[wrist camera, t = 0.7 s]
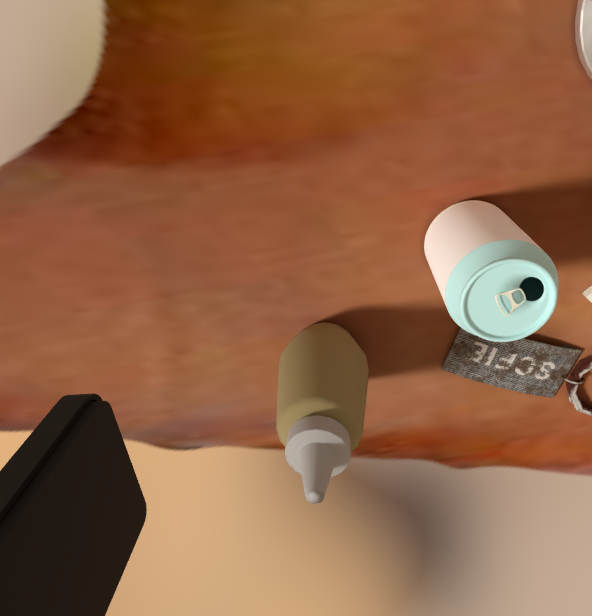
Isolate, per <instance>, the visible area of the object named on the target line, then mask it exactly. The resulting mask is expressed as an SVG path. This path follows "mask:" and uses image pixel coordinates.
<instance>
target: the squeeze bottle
mask: <svg viewBox="0 0 592 616" xmlns="http://www.w3.org/2000/svg"><path fill="white" fill-rule="evenodd" d="M368 375H369V368H368V363H367V358H366V355H365V354H364V352H363V351H362V350H361V348H360V347H359V345H358V344H357V343H356V341H355V340H354V339H353V338H352V336H351V335H350V334H349V333H348V331H347V330H345V329H343V328H342V327H340V326H338V325H336V324H331V323H326V322H323V323H317V324H312V325H310V326H309V327H307V328H305V329H303V330H302V331H301V332H300V333H299V334H298V335H297V336H296V337H295V338H294V339H293V340H291V342H290V343H289V344H288V346H287V347H286V348H285V350H284V351H283V352H282V354H281V359H280V364H279V374H278V400H277V425H276V429H277V432H278V435H279V438H280V441H281V442H282V443H283V445H284V446H285V447H286V448H285V455H286V458H287V462H288V463H289V465H291V467H292V468H293V469H294V470H295V471H296V472H298V473H300V474H302V479H303V485H304V490H305V496H306V499H307V500H308V501H309V502H311V503H320V502H322V501H323V498H324V496H325V492H326V489H327V486H328V483H329V480H330V477H332V476H335V475H337V474H339V473H341V472H342V471H343V470H344V469H345V468H346V467H347V466H348V464H349V460H350V457H351V452H352V451H353V450H354V449H355V448H356V447H357V446H358V445H359V443H360V439H361V436H362V433H363V426H364V415H365V405H366V395H367V385H368Z"/></svg>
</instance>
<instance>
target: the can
mask: <svg viewBox="0 0 592 616" xmlns="http://www.w3.org/2000/svg"><path fill="white" fill-rule="evenodd" d="M424 250H425V255H426V258H427V261H428V263H429V266H430V268H431V271H432V273H433V275H434V278H435V280H436V283H437V285H438V288H439V290H440V293H441V295H442V297H443V300H444V302H445V305H446V307H447V310H448V312H449V314H450V316H451V317H452V319H453V320H454V321H455V322H456V323H457V324H458V325H459V326H460V327H461V328H462V329H464V330H465V331H467V332H469V333H471V334H473V335H476V336H479V337H481V338H483V339H485V340H489V341H494V342H510V341H515V340H519V339H522V338H525V337H527V336H529V335H531V334H532V333H534V332H536V331H537V330H538V329H540V328H541V327H542V326H543V325H544V324H545V323H546V322H547V321H548V319H549V318H550V317H551V315H552V313H553V311H554V309H555V306H556V303H557V294H558V292H557V291H558V274H557V270H556V267H555V265H554V263H553V261H552V260H551V258H550V257H549V256H548V255H547V254H546V253H545V252H544V251H543V250H542V249H541V248H540V247H539V246H538V245H537V244H536V243H535V242H534V241H533V240H532V239H531V238H530V237H529V236H528V235H527V234H526V233H525V232H524V231H522V230H521V229H520V228H519V227H518V226H517V225H516V224H515V223H514V222H513V221H512V220H511V219H510V218H509V217H508V216H507V215H506V214H505V213H504V212H503V211H502V210H500V209H499V208H498V207H496V206H495V205H493V204H490V203H488V202H484V201H477V200H471V201H464V202H460V203H457V204H454V205H452V206H450V207H448V208H447V209H445V210H444V211H442V212H441V213H440V214H439V215H438V216H437V217H436V218H435V219H434V220H433V222H432V223H431V225H430V227H429V228H428V231H427V233H426V237H425V243H424Z"/></svg>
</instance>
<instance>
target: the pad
mask: <svg viewBox="0 0 592 616" xmlns="http://www.w3.org/2000/svg"><path fill="white" fill-rule="evenodd" d="M582 294H583V295H584V296H585V297H586V298H587V299H588V300H590V301H591V302H592V286H590V287H589V288H588V289H587V290H585V291H584V292H583V293H582Z"/></svg>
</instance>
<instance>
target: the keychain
mask: <svg viewBox="0 0 592 616" xmlns="http://www.w3.org/2000/svg"><path fill="white" fill-rule="evenodd" d="M581 352H582V350H580V349H577V348H574V347H571V346H568V345H563V347H559V346H554V345H550V344H546V343H542V342H538V341H534V340H529V339H525V338H522V339H519V340H515V341H510V342H494V341H489V340H485V339H483V338H481V337H479V336H476V335H473V334H471V333H469V332H467V331H465V330H464V329H462V328H461V327H460V329H459V332H458V334H457V336H456V338H455V340H454V342H453V344H452V346H451V349H450V351H449V353H448V355H447V357H446V359H445V361H444V363H443V365H442V368H441V369H442V370H445V371H448V372H451V373H454V374H457V375H459V376H462V377H465V378H468V379H471V380H474V381H478V382H482V383H485V384H489V385H493V386H496V387H500V388H504V389H508V390H512V391H517V392H521V393H525V394H530V395H537V396H544V397H550V398H553V396H554V395H555V393H556V392H557V390H558V388H559V387H560V385H561V384H562V382H563V380H566V386H567V391H568V396H569V400H570V402H572V403H573V404H574V406H575V408H576V410H578V411H580V412H583V413H585V414H588V415H591V416H592V407H590V406H589V405H587V404H586V403H584V402H583V401H581V400H580V398H579V396H578V394H577V392H576V390H577V388H578V385H579V384H582V383H583V381H584V379H583V377H582V375H583V374H585V373H586V372H588V371H589V370H591V369H592V354H591V355H589V356H587V357H585V358H584V359H582V360H580V361H578V363H577V364H576V366H575V368H574V369H573V371H572V372H571V374H570V376H569V377H568V379H566V378H565V377H566V376H567V374H568V372H569V371H570V369H571V368H572V366H573V365H574V363H575V361H576V360H577V358H578V357H579V355H580V353H581ZM581 379H582V381H581V382H580V380H581Z"/></svg>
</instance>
